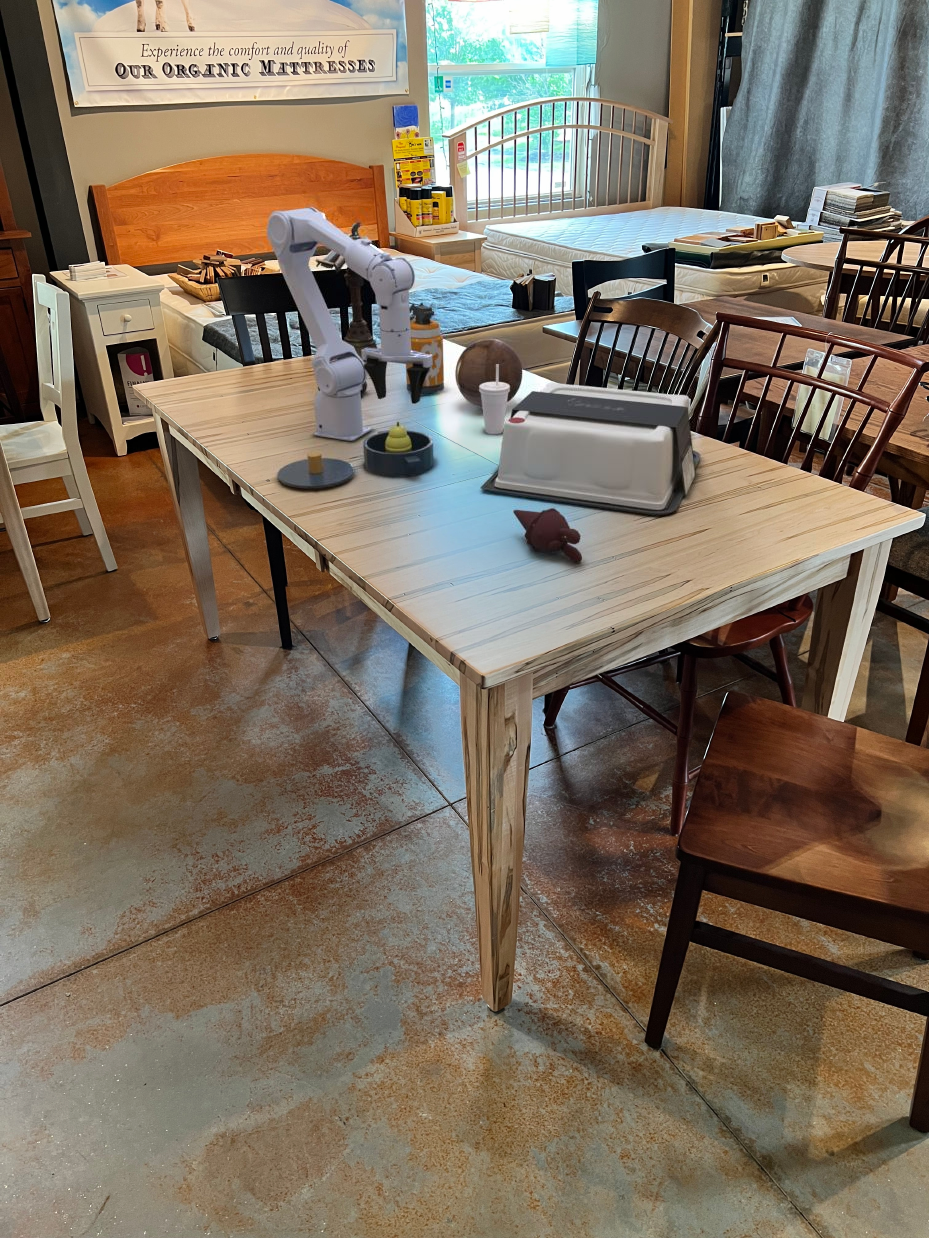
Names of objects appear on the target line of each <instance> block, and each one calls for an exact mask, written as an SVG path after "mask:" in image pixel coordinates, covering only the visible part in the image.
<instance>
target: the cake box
mask: <svg viewBox="0 0 929 1238" xmlns="http://www.w3.org/2000/svg"><path fill="white" fill-rule="evenodd" d="M545 385H546V386H545V387H544V388H543V389H541V390H540V391H538V390H537V391H536V390H532V391H531V392H530V393H528V394H527V395H526V396H525V397H524V398H523V399H522V400H521V401H520V402H518V403H517V404H516V405H515V406H514V407H513V408H512V409H511V413H510V418H508V420H506V421H504V427H503V432H502V440H501V445H500V446H501V447H500V454H499V462H498V467H497V469H496V471H494V473H492V474H491V476H489V478H488V479H487V480H486V481H485V482H484V483H483V484H482V485H481V486H480V489H481V490H483V491H484V490H485V491H489V492H490V491H492V492H494V493H497V494H502V495H510V496H517V497H518V496H519V497H524V498H530V499H537V500H545V501H550V502H551V501H552V502H557V503H567V504H573V505H578V506H579V505H580V506H587V507H592V508H593V507H594V508H599V509H600V508H601V509H607V510H615V511H622V512H629V513H637V514H643V515H651V516H664V515H668V514H672V513H673V512H675V511H676V510H677V509H678V507H679V505H680V504H681V501H682V499H683V498H684V499H686V497H687V495H688V492H689V490H690V488H691V486H692V483H693V482H694V479H695V477H696V475H697V473H696V468H697V466H698V464H699V461H700V459H701V453H699V452H698V451H696V450H694V449H693V441H692V432H691V423H690V422H691V421H690V398H689V396H688V395H685V394H666V393H658V392H651V391H650V392H649V391H638V390H629V389H628V390H627V389H619V388H618V389H617V388H607V387H597V386H589V385H577V384H567V383H559V382H548V383H546V384H545Z"/></svg>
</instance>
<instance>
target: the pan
mask: <svg viewBox="0 0 929 1238" xmlns="http://www.w3.org/2000/svg"><path fill="white" fill-rule="evenodd" d="M389 431H390V429H387V430H379V431H377V433H375V434H372V435H370V436H368V437H366V438H365V439H364V441H363V442H362V443H363V444H362V446H363V447H362V449H363V459H364V460H363V462H364V467H365V469H366V470H367V471H368V472H369V473H371V474H374V475H377V476H381V477H389V478H403V477H412V476H416V475H419V474H423V473H425V472H427V471H429V470H430V469H431V468H432V467H433V466H434V442H433V441H434V440H433V438H432V437H431V436H430V435H429V434H426V433H424V432H419V431H414V430H406V432H407V435H408V436H409V438H410V440H411V444H412V452H405V453H386V448H385V442H386V439H387V437H388V436H389Z"/></svg>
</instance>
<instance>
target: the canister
mask: <svg viewBox="0 0 929 1238" xmlns="http://www.w3.org/2000/svg"><path fill="white" fill-rule="evenodd" d="M409 310H410V314H411V313H412V314H411V315H410V334H411V350H412V351H416V352H419V353H423V354H428V355H432V362H433V365H432V366H430V370H429V372H428V374H427V376H426V378H425V381H424V384H423V387H422V391H421V396H429V395H435V394H437V393H439V392H441V391H444V389H445V382H444V381H445V370H444V369H445V368H444V336H443V335H442V334H441V325H440V323H439V322H438V321H436V320H433V318H432V317H433V316H435V311H434V310H433V307H431V306H426V305H425V304H424V303H423V302H420V304H419V305H415V303H414V302H412V304H411V305H410V306H409ZM410 367H413V365H410V364H405V375H406V376H405V377H406V379H405V380H406V390H407V391H408V392H410V393H411V387H410V381H409V376H408V373H407V369H408V368H410Z"/></svg>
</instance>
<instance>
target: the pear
mask: <svg viewBox="0 0 929 1238" xmlns="http://www.w3.org/2000/svg"><path fill="white" fill-rule="evenodd" d="M406 431H407V429H406V428H405V427H404V426H402V425H400V422H399V421H396V425H393V426H392V427H391V428H390V429H389V436H388V437H387V439H386V442H385V448H386V453H405V452H412V444H411V440H410V438H409V436H408V435H407V432H406Z"/></svg>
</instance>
